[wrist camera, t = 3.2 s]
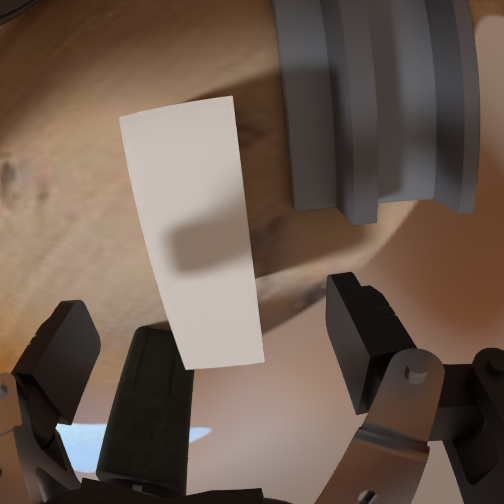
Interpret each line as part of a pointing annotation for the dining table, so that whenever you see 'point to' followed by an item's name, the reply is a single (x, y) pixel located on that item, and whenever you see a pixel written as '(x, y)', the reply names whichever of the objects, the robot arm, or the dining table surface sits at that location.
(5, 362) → the dining table surface
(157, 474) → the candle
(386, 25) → the door track
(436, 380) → the robot arm
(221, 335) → the white rectangular block
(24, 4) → the alarm clock
